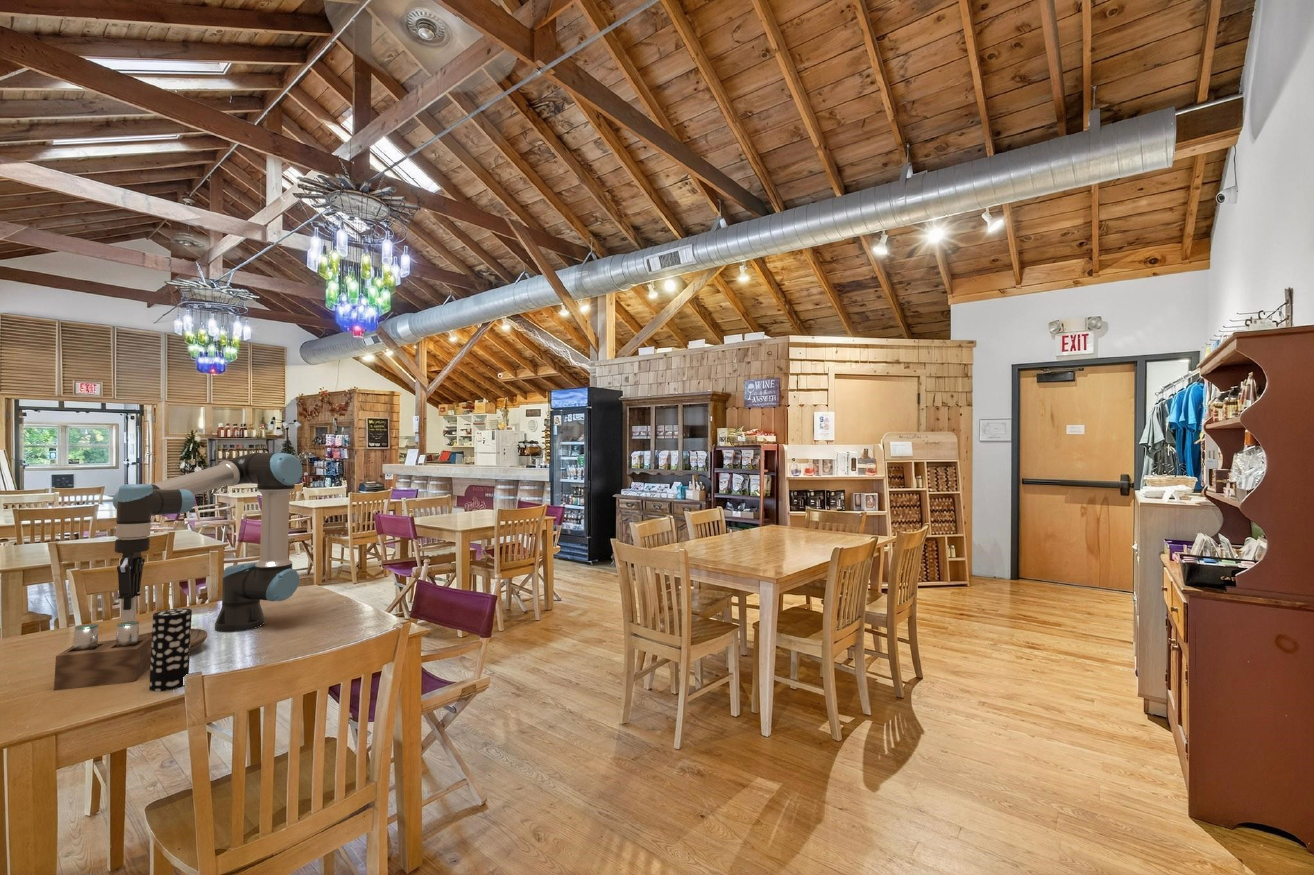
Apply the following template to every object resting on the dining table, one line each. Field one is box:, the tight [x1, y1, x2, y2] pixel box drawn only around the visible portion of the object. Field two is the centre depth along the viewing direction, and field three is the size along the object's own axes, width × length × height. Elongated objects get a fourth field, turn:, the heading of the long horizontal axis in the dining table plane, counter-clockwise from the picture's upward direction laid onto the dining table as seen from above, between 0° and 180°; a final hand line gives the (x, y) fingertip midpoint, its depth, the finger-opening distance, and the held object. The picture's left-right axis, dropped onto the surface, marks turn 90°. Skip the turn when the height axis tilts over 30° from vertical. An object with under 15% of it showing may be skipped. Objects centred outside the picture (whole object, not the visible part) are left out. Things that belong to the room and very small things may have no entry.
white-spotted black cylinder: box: [148, 608, 193, 692], centre depth 163 cm, size 8×8×20 cm
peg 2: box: [115, 620, 140, 648], centre depth 169 cm, size 5×5×8 cm
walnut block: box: [53, 637, 152, 691], centre depth 167 cm, size 17×12×9 cm
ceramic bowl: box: [138, 628, 208, 651], centre depth 188 cm, size 23×24×5 cm
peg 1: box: [73, 623, 100, 651], centre depth 165 cm, size 5×5×8 cm
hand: (128, 620), depth 169 cm, fingers closed
